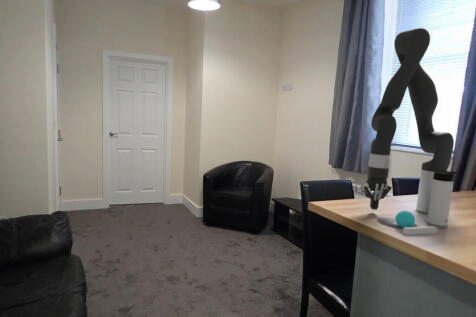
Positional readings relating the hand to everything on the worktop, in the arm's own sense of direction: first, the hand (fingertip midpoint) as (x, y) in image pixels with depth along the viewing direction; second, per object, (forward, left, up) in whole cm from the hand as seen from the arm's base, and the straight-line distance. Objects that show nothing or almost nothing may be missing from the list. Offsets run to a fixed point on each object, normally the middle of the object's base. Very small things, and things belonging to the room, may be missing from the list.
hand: (373, 209), depth 134 cm
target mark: (0, +13, -2) cm, 13 cm away
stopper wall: (0, +23, -2) cm, 24 cm away
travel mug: (-14, +17, -2) cm, 22 cm away
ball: (+1, +18, +2) cm, 18 cm away
